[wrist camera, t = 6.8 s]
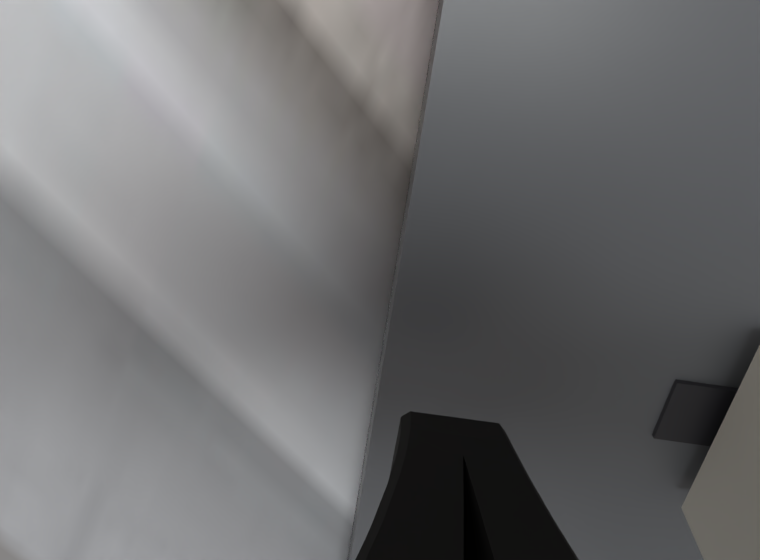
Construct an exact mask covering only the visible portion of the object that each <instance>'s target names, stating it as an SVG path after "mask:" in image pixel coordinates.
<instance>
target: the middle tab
mask: <svg viewBox="0 0 760 560" xmlns="http://www.w3.org/2000/svg"><path fill="white" fill-rule="evenodd" d="M681 508H682V511H683V513H684V515H685V518H686V520H687V522H688V525H689V527H690V529H691V531H692V534H693V536H694V538H695V541H696V543H697V545H698V547H699V550H700V552H701V554H702V557H703V559H704V560H760V345H759V347H758V349H757V351H756V353H755V356H754V358H753V360H752V362H751V364H750V366H749V368H748V370H747V372H746V374H745V376H744V378H743V380H742V383H741V385H740V387H739V389H738V391H737V393H736V395H735V397H734V399H733V401H732V403H731V405H730V407H729V409H728V412H727V414H726V416H725V418H724V420H723V422H722V424H721V426H720V428H719V430H718V432H717V434H716V436H715V439H714V441H713V443H712V445H711V447H710V449H709V451H708V453H707V455H706V457H705V459H704V461H703V463H702V465H701V468H700V470H699V472H698V474H697V476H696V478H695V480H694V482H693V484H692V486H691V488H690V490H689V492H688V495H687V497H686V499H685V501H684V503H683V505H682V507H681Z"/></svg>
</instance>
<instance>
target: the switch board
mask: <svg viewBox="0 0 760 560" xmlns="http://www.w3.org/2000/svg"><path fill="white" fill-rule="evenodd" d="M759 345H760V0H439V6H438V12H437V18H436V24H435V30H434V36H433V43H432V49H431V55H430V61H429V67H428V73H427V79H426V85H425V91H424V97H423V103H422V110H421V116H420V122H419V128H418V134H417V140H416V146H415V152H414V158H413V164H412V170H411V176H410V183H409V189H408V195H407V201H406V207H405V213H404V219H403V225H402V231H401V237H400V243H399V249H398V256H397V262H396V268H395V274H394V280H393V286H392V292H391V298H390V304H389V310H388V316H387V323H386V329H385V335H384V341H383V347H382V353H381V359H380V365H379V371H378V377H377V383H376V389H375V396H374V402H373V408H372V414H371V420H370V426H369V432H368V438H367V444H366V450H365V456H364V463H363V469H362V475H361V481H360V487H359V493H358V499H357V505H356V511H355V517H354V523H353V529H352V536H351V542H350V548H349V554H348V560H355V559H356V557H357V555H358V553H359V551H360V549H361V547H362V545H363V543H364V541H365V538H366V536H367V534H368V532H369V529H370V527H371V525H372V522H373V520H374V517H375V515H376V512H377V509H378V507H379V504H380V502H381V499H382V497H383V494H384V491H385V489H386V486H387V484H388V480H389V476H390V471H391V466H392V460H393V455H394V450H395V445H396V440H397V434H398V429H399V424H400V419H401V416H403V415H405V414H406V413H408V412H410V411H413V412H420V413H428V414H435V415H442V416H450V417H457V418H465V419H472V420H479V421H487V422H494V423H499V424H500V425H501V426H502V428H503V429H504V430H505V432H506V434H507V436H508V438H509V440H510V442H511V444H512V446H513V447H514V449H515V451H516V453H517V455H518V457H519V459H520V461H521V462H522V464H523V466H524V468H525V470H526V472H527V473H528V475H529V477H530V479H531V481H532V482H533V484H534V486H535V488H536V490H537V491H538V493H539V495H540V497H541V498H542V500H543V502H544V504H545V505H546V507H547V509H548V510H549V512H550V514H551V515H552V517H553V519H554V521H555V522H556V524H557V526H558V527H559V529H560V530H561V532H562V534H563V535H564V537H565V538H566V540H567V542H568V543H569V545H570V546H571V548H572V550H573V551H574V553H575V554H576V556H577V558H578V559H579V560H704V559H703V557H702V554H701V552H700V550H699V547H698V545H697V543H696V541H695V538H694V536H693V534H692V531H691V529H690V527H689V525H688V522H687V520H686V518H685V515H684V513H683V511H682V508H681V507H682V505H683V503H684V501H685V499H686V497H687V495H688V492H689V490H690V488H691V486H692V484H693V482H694V480H695V478H696V476H697V474H698V472H699V470H700V468H701V465H702V463H703V461H704V459H705V457H706V455H707V453H708V451H709V449H710V447H711V445H712V443H713V441H714V439H715V436H716V434H717V432H718V430H719V428H720V426H721V424H722V422H723V420H724V418H725V416H726V414H727V412H728V409H729V407H730V405H731V403H732V401H733V399H734V397H735V395H736V393H737V391H738V389H739V387H740V385H741V383H742V380H743V378H744V376H745V374H746V372H747V370H748V368H749V366H750V364H751V362H752V360H753V358H754V356H755V353H756V351H757V349H758V347H759Z"/></svg>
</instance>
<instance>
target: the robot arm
mask: <svg viewBox="0 0 760 560" xmlns="http://www.w3.org/2000/svg"><path fill="white" fill-rule="evenodd" d="M355 560H579V559H578V558H577V556H576V554H575V553H574V551H573V550H572V548H571V546H570V545H569V543H568V542H567V540H566V538H565V537H564V535H563V534H562V532H561V530H560V529H559V527H558V526H557V524H556V522H555V521H554V519H553V517H552V515H551V514H550V512H549V510H548V509H547V507H546V505H545V504H544V502H543V500H542V498H541V497H540V495H539V493H538V491H537V490H536V488H535V486H534V484H533V482H532V481H531V479H530V477H529V475H528V473H527V472H526V470H525V468H524V466H523V464H522V462H521V461H520V459H519V457H518V455H517V453H516V451H515V449H514V447H513V446H512V444H511V442H510V440H509V438H508V436H507V434H506V432H505V430H504V429H503V428H502V426H501V425H500V424H499V423H494V422H487V421H479V420H472V419H465V418H457V417H450V416H442V415H435V414H428V413H420V412H413V411H410V412H408V413H406V414H405V415H403V416H401V419H400V424H399V429H398V434H397V440H396V445H395V450H394V455H393V460H392V466H391V471H390V476H389V480H388V484H387V486H386V489H385V491H384V494H383V497H382V499H381V502H380V504H379V507H378V509H377V512H376V515H375V517H374V520H373V522H372V525H371V527H370V529H369V532H368V534H367V536H366V538H365V541H364V543H363V545H362V547H361V549H360V551H359V553H358V555H357V557H356V559H355Z"/></svg>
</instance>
